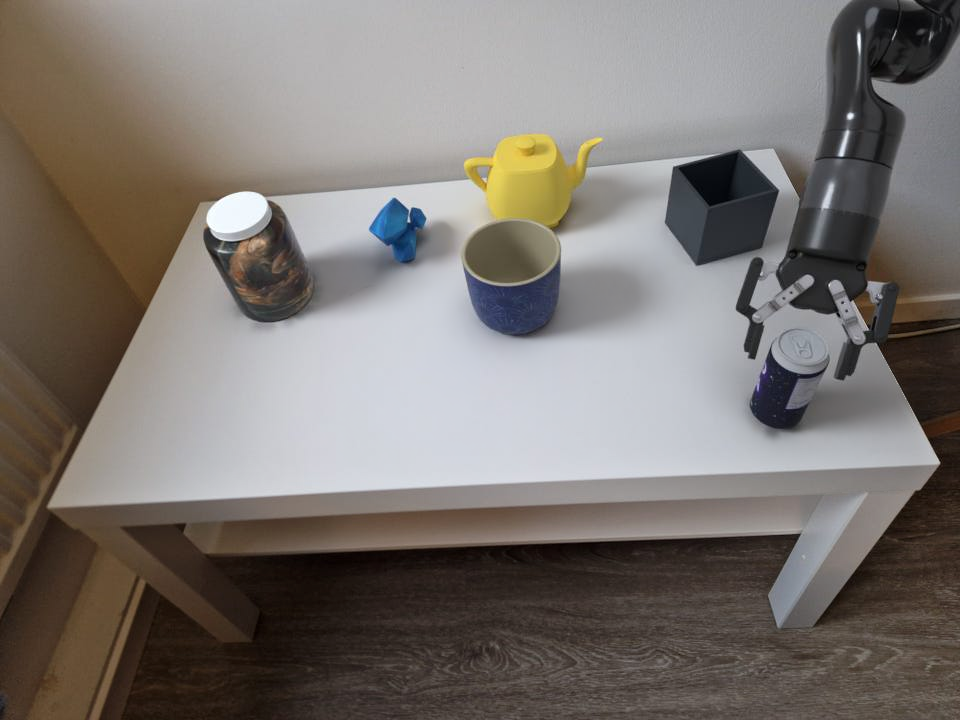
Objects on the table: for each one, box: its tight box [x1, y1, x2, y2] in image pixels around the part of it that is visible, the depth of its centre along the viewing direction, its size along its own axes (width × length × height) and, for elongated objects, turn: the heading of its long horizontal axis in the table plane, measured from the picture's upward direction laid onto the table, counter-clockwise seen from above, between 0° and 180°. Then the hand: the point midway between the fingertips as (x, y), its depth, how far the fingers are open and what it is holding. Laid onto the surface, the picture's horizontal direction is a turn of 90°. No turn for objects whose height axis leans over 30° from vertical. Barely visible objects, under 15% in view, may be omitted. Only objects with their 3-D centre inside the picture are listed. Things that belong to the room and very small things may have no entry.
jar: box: [202, 191, 315, 323], centre depth 92 cm, size 12×12×15 cm
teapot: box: [463, 133, 603, 229], centre depth 98 cm, size 13×20×12 cm
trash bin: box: [664, 149, 780, 266], centre depth 92 cm, size 10×10×10 cm
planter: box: [460, 218, 562, 335], centre depth 86 cm, size 12×12×11 cm
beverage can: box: [749, 327, 831, 430], centre depth 72 cm, size 6×6×12 cm
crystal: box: [368, 197, 427, 263], centre depth 97 cm, size 7×9×12 cm
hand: (794, 368), depth 69 cm, fingers open, 8 cm apart
